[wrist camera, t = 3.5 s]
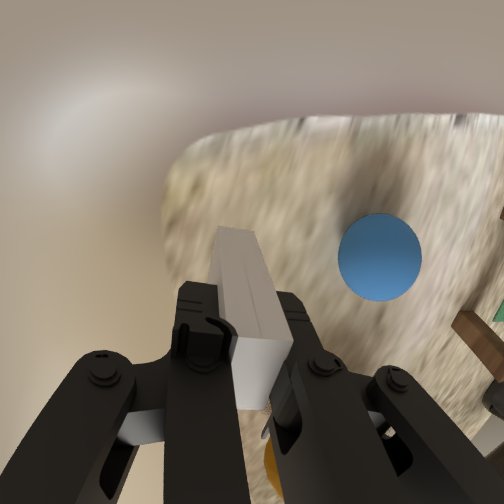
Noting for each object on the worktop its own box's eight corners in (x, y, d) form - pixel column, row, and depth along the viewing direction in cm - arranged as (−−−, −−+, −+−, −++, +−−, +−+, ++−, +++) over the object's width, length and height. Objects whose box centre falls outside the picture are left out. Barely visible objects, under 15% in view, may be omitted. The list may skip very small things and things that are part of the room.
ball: (403, 212, 20) (450, 242, 15) (378, 278, 22) (414, 320, 17) (340, 194, 19) (381, 224, 14) (316, 269, 21) (345, 316, 16)
